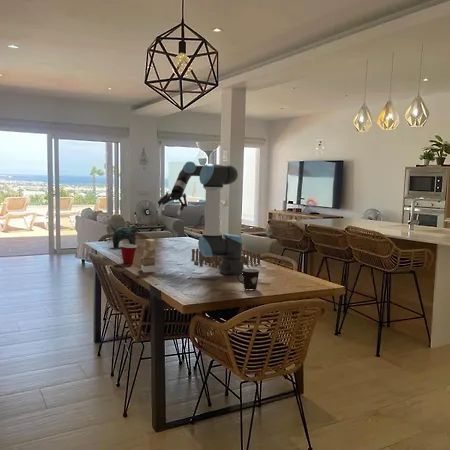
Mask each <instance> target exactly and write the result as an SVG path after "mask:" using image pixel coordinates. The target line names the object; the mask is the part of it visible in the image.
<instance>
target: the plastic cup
mask: <svg viewBox="0 0 450 450" xmlns="http://www.w3.org/2000/svg"><path fill="white" fill-rule="evenodd" d="M119 246H120V249H121V257H122V262H123V264H125V265H132V264H133V263H134V258H135V252H136V250H137V247H138V245H136V244H135V245H133V244H130V243H121V244H119Z"/></svg>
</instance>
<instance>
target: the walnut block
mask: <svg viewBox="0 0 450 450" xmlns="http://www.w3.org/2000/svg"><path fill="white" fill-rule="evenodd" d="M155 260H156V259H155V258H153V259H147V258H143V257H140V261H139V262H140V265H143V266H153V265H155V266H156V261H155Z"/></svg>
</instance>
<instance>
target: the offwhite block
mask: <svg viewBox="0 0 450 450" xmlns="http://www.w3.org/2000/svg"><path fill="white" fill-rule="evenodd" d="M140 265H141V264H140ZM140 267H141V269H140V270H141V271H143V272H142V273H155V272H156V264H155V265H153V266H143V265H141V266H140Z"/></svg>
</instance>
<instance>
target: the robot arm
mask: <svg viewBox="0 0 450 450" xmlns="http://www.w3.org/2000/svg"><path fill="white" fill-rule="evenodd" d="M238 176H239V174H238V169H236V167H235V166H234V165H233V166H232V165H230V164H217V163H216V164H215V163H214V164H213V163H206V164H196V163H195V162H193V161H187V162H186V163H184V165H183V167H182V169H181V170H180V171H179V173H178V175H177V178H176V181H175V183H174V185H173V187H172V189H171V193H168V192H166V193H165V194H164V195H163V196H162V197H161V198H159V200H158V201H157V204H158V210H157V212H158V214H161V213H162V210H163V208H164V206H165V204H167V203H169V202H172V201H179V203H180V205H179V207H178V209H177V215H178V216H180V214H181V212H182V211H183V210H184V208H185V207H188V202H187V195H186V193H185V190H186V187H187V184H188V183H189V181H190V179H191V177H199V182H200V184H201V185H202V187H203V189H204V190H205V208H204V209H205V210H204V211H205V212H204V213H205V215H204V231H203V232H202V236H201V237H199V238H198V244H197V245H198V248H199V251H200V253H201V254H202V255H203V256H204V257H214V256H222V260H221V265H220V268H219V267H218V272H219V274H222V273H223V275H228V274H240V273H243V269H245V268H244V265H243V264H242V260H241V258H242V256H243V255H242V254H243V238H242V236H240V235H237V234H233V233H232V234H231V233H223V234H222V232H220V229H221V228H220V227H221V226H220V224H221V223H220V220H221V217H220V216H221V191H222V190H223V189H224V185H232V184H233V183H235V182H236V181H237V180H238ZM182 198H183V200H182ZM240 275H241V274H240Z"/></svg>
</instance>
